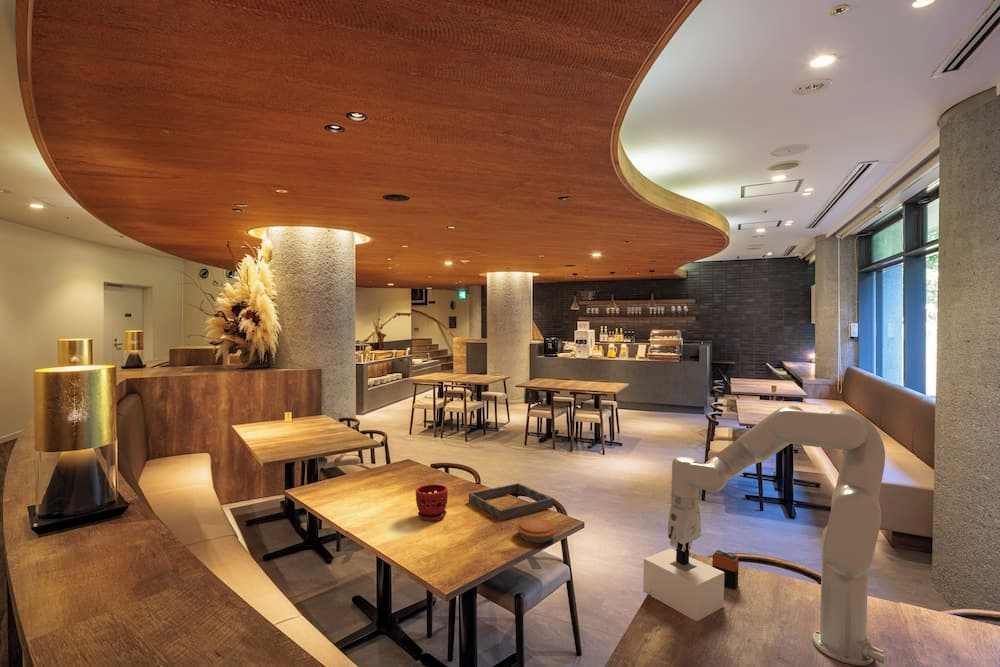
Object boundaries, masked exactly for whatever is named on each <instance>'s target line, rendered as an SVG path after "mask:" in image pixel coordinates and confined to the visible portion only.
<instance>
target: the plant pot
mask: <svg viewBox="0 0 1000 667" xmlns="http://www.w3.org/2000/svg"><path fill="white" fill-rule="evenodd" d="M448 490H449V489H448V487H447V486H446V485H443V484H436V483H435V484H425V485H422V486H421V485H420V486H418V487H417V488H416V489H415V501H416V507H417V509H418V513H417V515H418V518H419V519H421V520H422V521H427V522H428V521H429V522H436V521H440V520H443V519H444V518H445V517H446V515H447V511H446V507H447V504H448V496H449V495H448V492H449V491H448Z"/></svg>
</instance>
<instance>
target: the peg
mask: <svg viewBox="0 0 1000 667" xmlns="http://www.w3.org/2000/svg"><path fill="white" fill-rule="evenodd" d="M676 567H677V568H679V569H681V570H683V571H685V572H687V571H689V570H690V562H689V563H688V564H686V565H683V564H681V563H679V562H677V561H676Z"/></svg>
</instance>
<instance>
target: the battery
mask: <svg viewBox="0 0 1000 667" xmlns="http://www.w3.org/2000/svg"><path fill="white" fill-rule="evenodd" d="M739 559H740V558H739V556H738V555H736V554H735V553H733V552H725V551H723V550H720V549H717V550H715V551H714V552H713V554H712V563H711V564H712V565H711V566H712V567H714V568H716V569H718V570H721V571H723V572H724V588H728V589H731V590H735V589H737V587H738V585H739V562H740V561H739Z"/></svg>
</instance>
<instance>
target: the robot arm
mask: <svg viewBox="0 0 1000 667" xmlns="http://www.w3.org/2000/svg"><path fill="white" fill-rule="evenodd" d="M790 444H792V445H798V446H804V447H806V446H807V447H815V448H823V449H831V450H832V449H833V450H841V451H842V457H841V460H840V467H839V473H838V477H837V480H836V484H835V487H834V490H833V493H832V496H831V506H830V512H829V515H828V516H829V517H828V522H827V525H826V526H825V527H824V528H823V531H822V535H821V572H820V573H821V575H820V576H821V579H820V580H821V582H820V584H821V585H820V612H819V629H818V630H814V632H812V634H811V635H812V636H811V637H812V643H813V644H814V646H815V647H816V648H817V649H818V650H819V651H820V652H822V653H823V654H824V655H826V656H828V657H830V658H832V659H834V660H836V661H839V662H840V663H841V662H842V663H845V664H848V665H854V666H868V665H869V664H872V663H873V662H874V660H875V661H876V662H878V663H880V664H883V665H884V666H885V665H886V664H887V659H888V658H887V655H885V650H883V649H881V648H879V647H876V646H873V644H872V643H871V642H872V640H871V638H872V637H870V636H867V622H868V620H867V618H868V617H867V616H868V614H867V613H868V594H869V593H868V592H869V569H870V568H871V565H872V562H873V558H874V555H875V551H876V546H877V542H878V538H879V534H880V529H881V524H882V510H881V505H880V501H879V498H880V492H881V487H882V483H883V476H884V472H885V466H886V464H885V463H886V449H885V445H884V442H883V439H882V437H881V434H880V432H879V431H878V430H877V428H876V427H875V426H874V424H873V423H872V422H870V420H868V419H867V417H865V416H864V415H862V414H861V413H859V412H857V411H856V410H853V409H850V408H845V407H843V408H842V407H841V408H836V409H834V410H831V411H830V412H817V411H815V412H814V411H805V410H804V409H802V408H801V407H800V406H798V405H797V406H796V405H791V404H789V405H783V406H780V407H778V408H777V409H776V410H775V411H774V412H772V413H770V414H769V415H768V416H766V417H765V418H764V419H762V420H761V421H759V422H758V423H757V424H756V425H754V426H753V427H751V428H750V429H748V430H747V431H745V432H744V433H742V434H741V435H740V436H739V437H738V438H737V439H736V440H734V441H733V442H731V443H730V444H729V445H728V446H726V447H725V448H723V449H722V450H721V451H719V452H718V453H716V454H715V455H713V456H712V457H711V458H710V459H708V460H707V461H706V462H704V463H701V464H700V463H699V461H697V459H695V458H692V457H687V456H678V457H675V458H673V460H672V463H671V483H670V484H671V485H670V486H671V487H670V488H671V489H670V490H671V492H670V493H671V494H670V508H669V514H668V519H667V520H668V521H667V537H668V539H669V540H670V543H669V545H670V546H672V547H674V548H675V549H676V561H677V562H679V563H681V564H683V565H686V564H688V563H689V557H690V550H691V546H692V542H693V541H696V540H698V539H699V538H700V537H701V533H702V532H701V529H702V523H701V509H700V505H699V494H700V493H699V490H703V491H706V492H709V493H717V492H720V491H721V490H722V489H724V488H725V486H726V485H727V483H728V482H729V480H731V479H732V478H733V477H735V476H736V475H738V474H739V473H740V472H742V471H744V470H745V469H746V468H748V467H751V465H754V464H758V463H759V464H760V463H763V462H765V461H767V460H769V459H770V458H772V457H773V456H774V455H776V454H778V453H779V452H780V451H781V450H784V448H786V447H788V446H789V445H790Z"/></svg>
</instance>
